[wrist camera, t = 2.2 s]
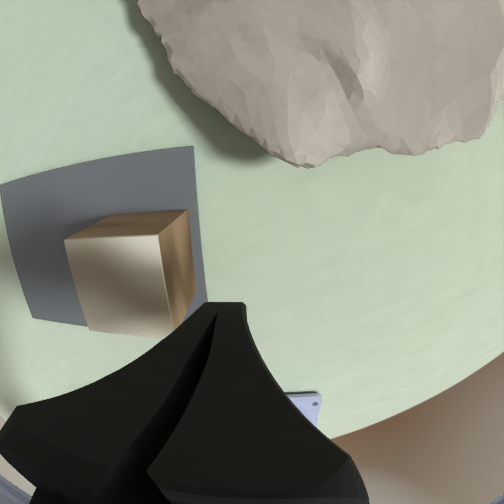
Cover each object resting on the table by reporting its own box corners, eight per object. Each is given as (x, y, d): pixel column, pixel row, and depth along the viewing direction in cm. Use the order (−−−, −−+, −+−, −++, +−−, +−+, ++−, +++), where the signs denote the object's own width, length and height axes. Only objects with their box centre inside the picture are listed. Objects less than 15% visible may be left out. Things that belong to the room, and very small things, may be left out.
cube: (197, 289, 17) (174, 338, 13) (125, 288, 18) (89, 330, 13) (187, 209, 16) (155, 235, 11) (111, 214, 16) (63, 240, 11)
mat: (211, 333, 19) (211, 335, 19) (34, 316, 20) (32, 317, 20) (193, 145, 15) (192, 145, 15) (1, 184, 16) (-1, 185, 16)
